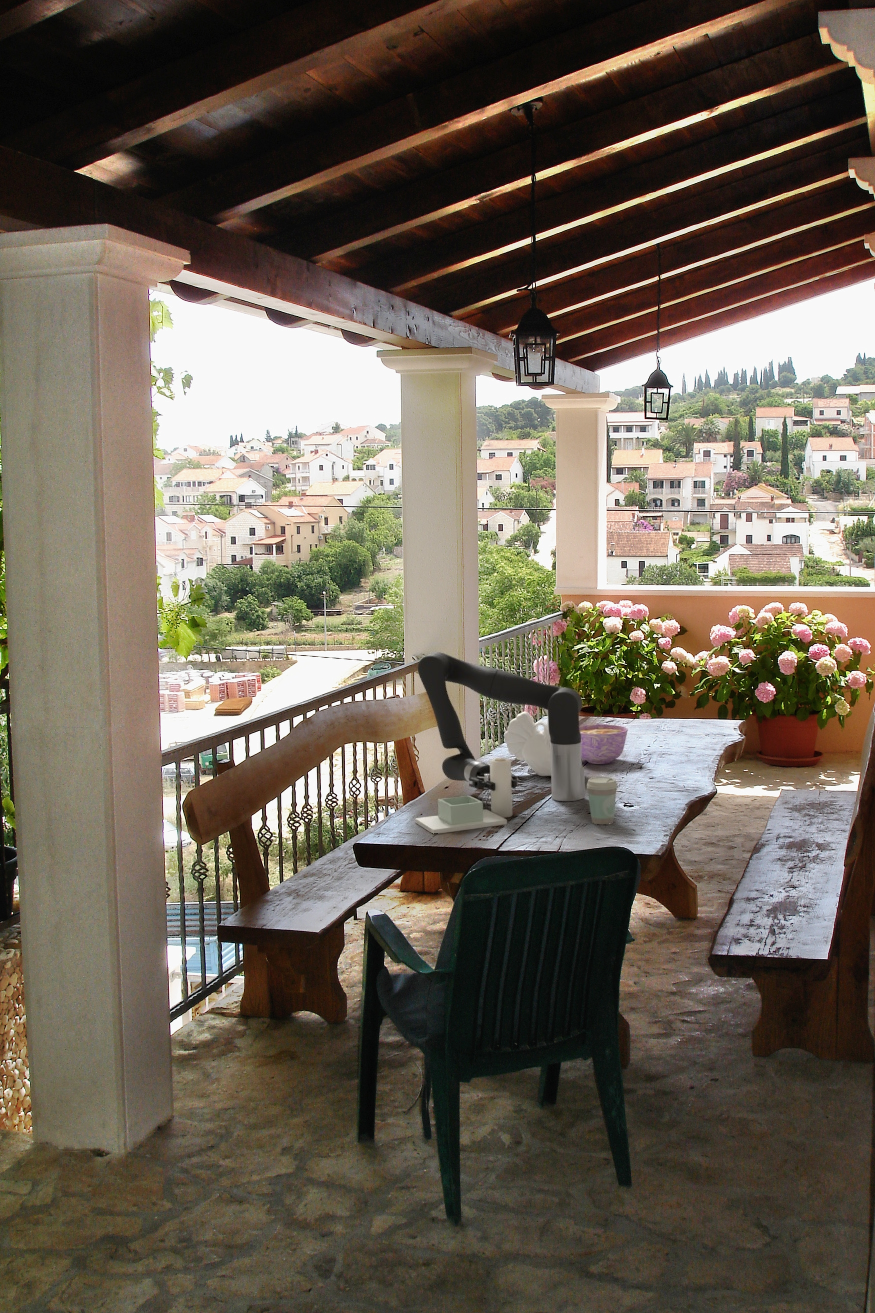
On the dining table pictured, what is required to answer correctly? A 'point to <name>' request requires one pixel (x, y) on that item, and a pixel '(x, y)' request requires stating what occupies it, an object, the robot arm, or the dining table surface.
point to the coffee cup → (602, 799)
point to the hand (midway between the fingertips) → (504, 785)
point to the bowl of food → (602, 742)
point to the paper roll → (501, 787)
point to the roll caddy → (460, 816)
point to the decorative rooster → (530, 742)
